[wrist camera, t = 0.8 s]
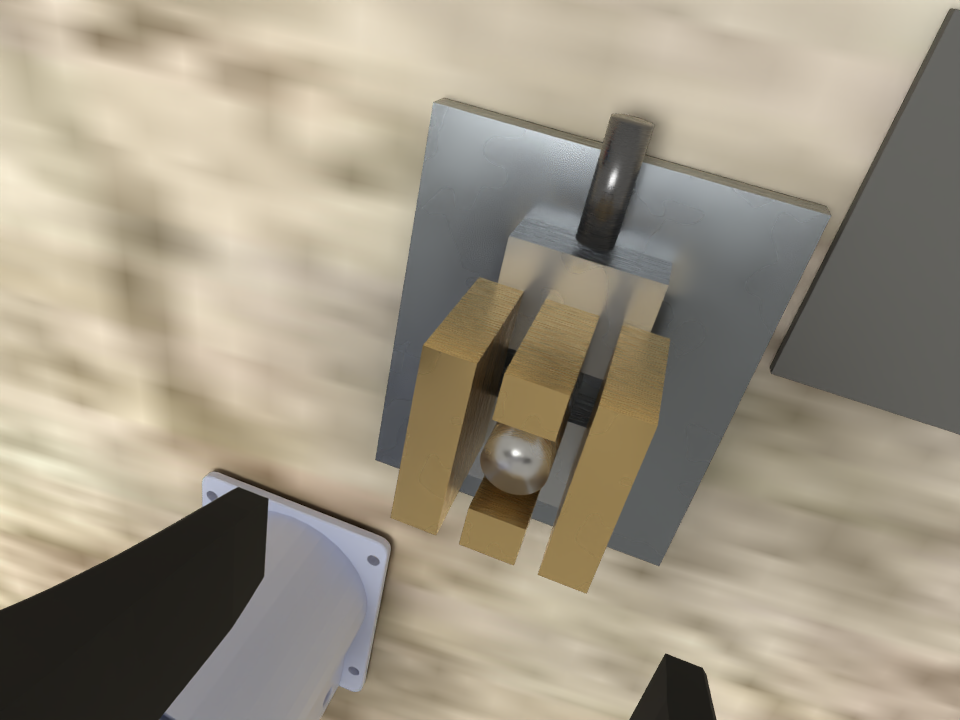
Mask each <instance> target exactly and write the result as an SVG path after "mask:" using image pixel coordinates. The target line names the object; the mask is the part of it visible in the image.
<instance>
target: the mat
mask: <svg viewBox="0 0 960 720" xmlns="http://www.w3.org/2000/svg"><path fill="white" fill-rule="evenodd" d="M770 369H771V374H774V375H777V376H780V377H783V378H786V379H789V380H793V381H796V382H799V383H802V384H805V385H808V386H811V387H814V388H817V389H820V390H823V391H827V392H830V393H833V394H836V395H839V396H842V397H845V398H848V399H851V400H854V401H857V402H861V403H864V404H867V405H870V406H873V407H876V408H879V409H882V410H885V411H888V412H891V413H895V414H898V415H901V416H904V417H907V418H910V419H913V420H916V421H919V422H922V423H925V424H929V425H932V426H935V427H938V428H941V429H944V430H947V431H950V432H953V433H956V434H959V435H960V10H957V9H950V10H949V12H948V14H947V16H946V18H945V20H944V22H943V24H942V26H941V28H940V30H939V32H938V34H937V36H936V38H935V40H934V42H933V44H932V46H931V48H930V50H929V52H928V54H927V56H926V58H925V60H924V62H923V64H922V66H921V68H920V70H919V72H918V74H917V76H916V78H915V80H914V82H913V84H912V86H911V88H910V90H909V92H908V93H907V95H906V97H905V99H904V101H903V103H902V105H901V107H900V109H899V111H898V113H897V115H896V117H895V119H894V121H893V123H892V125H891V127H890V129H889V131H888V133H887V135H886V137H885V139H884V141H883V143H882V145H881V147H880V149H879V151H878V153H877V155H876V157H875V159H874V161H873V163H872V165H871V167H870V169H869V171H868V173H867V175H866V177H865V179H864V181H863V183H862V185H861V187H860V189H859V191H858V193H857V195H856V197H855V199H854V201H853V203H852V205H851V207H850V209H849V211H848V213H847V215H846V217H845V219H844V221H843V223H842V225H841V227H840V229H839V231H838V233H837V235H836V237H835V239H834V241H833V243H832V245H831V247H830V249H829V251H828V253H827V255H826V257H825V259H824V261H823V263H822V265H821V267H820V269H819V271H818V273H817V275H816V277H815V279H814V281H813V283H812V285H811V287H810V289H809V291H808V293H807V295H806V297H805V299H804V300H803V302H802V304H801V306H800V308H799V310H798V312H797V314H796V316H795V318H794V320H793V322H792V324H791V326H790V328H789V330H788V332H787V334H786V336H785V338H784V340H783V342H782V344H781V346H780V348H779V350H778V352H777V354H776V356H775V358H774V360H773V362H772V364H771V366H770Z"/></svg>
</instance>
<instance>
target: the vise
mask: <svg viewBox="0 0 960 720" xmlns="http://www.w3.org/2000/svg"><path fill="white" fill-rule="evenodd" d="M653 128H654V125H653V124H652V123H650V122H648V121H646V120H643V119H640V118H637V117H634V116H630V115H625V114H611V117H610V121H609V124H608V128H607V131H606V134H605V138H604V141H603V143H601V142H598V141H594V140H591V139H587V138H584V137H580V136H577V135H573V134H570V133H566V132H562V131H559V130H555V129H552V128H548V127H545V126H541V125H538V124H534V123H531V122H527V121H524V120H520V119H517V118H513V117H510V116H506V115H503V114H499V113H496V112H492V111H488V110H485V109H481V108H478V107H474V106H471V105H467V104H464V103H460V102H457V101H453V100H450V99H446V98H442V99H440V100H438V101H435V102H433V108H432V114H431V120H430V126H429V132H428V138H427V145H426V151H425V157H424V163H423V169H422V175H421V182H420V188H419V194H418V200H417V206H416V212H415V218H414V225H413V231H412V237H411V243H410V249H409V255H408V262H407V268H406V274H405V280H404V286H403V292H402V299H401V305H400V311H399V317H398V323H397V329H396V336H395V342H394V348H393V354H392V360H391V366H390V373H389V379H388V385H387V391H386V397H385V403H384V410H383V416H382V422H381V428H380V434H379V440H378V447H377V453H376V459H375V460H377V461H380V462H383V463H385V464H388V465H391V466H393V467H396V468H399V469H400V464H401V459H402V454H403V448H404V443H405V438H406V432H407V427H408V422H409V416H410V411H411V406H412V400H413V395H414V390H415V384H416V379H417V374H418V368H419V363H420V358H421V352H422V347H423V345H424V343H425V342H426V341H427V340H428V338H429V337H430V336H431V335H432V334H433V332H434V331H435V330H436V329H437V328H438V326H439V325H440V324H441V323H442V322H443V320H444V319H445V318H446V317H447V316H448V314H449V313H450V312H451V311H452V309H453V308H454V307H455V306H456V305H457V303H458V302H459V301H460V300H461V299H462V297H463V296H464V295H465V294H466V293H467V291H468V290H469V289H470V288H471V287H472V285H473V284H474V283H475V282H476V281H477V279H478V278H479V277H481V278H484V279H487V280H490V281H493V282H496V283H499V284H502V285H505V286H508V287H512V288H515V289H518V290H521V291H524V292H523V296H522V300H521V304H520V307H519V311H518V315H517V319H516V322H515V326H514V330H513V334H512V338H511V341H510V345H509V349H508V353H507V357H506V360H505V364H504V368H503V372H502V376H501V379H500V383H499V387H498V391H497V395H496V398H495V402H494V406H493V410H492V413H491V417H490V421H489V425H488V429H487V432H486V436H485V440H484V444H483V446H482V448H481V449H480V451H479V453H478V455H477V457H476V459H475V461H474V463H473V465H472V467H471V469H470V471H469V473H468V475H467V476H466V478H465V480H464V482H463V484H462V486H461V488H460V490H459V491H460V492H463V493H465V494H468V495H471V496H473V497H474V496H475V494H476V492H477V490H478V488H479V486H480V484H481V482H482V480H483V477H484V475H485V476H486V478H487V479H488V480H489V481H490V482H491V483H492V484H493V485H494V486H495V487H497V488H498V489H500V490H502V491H504V492H507V493H510V494H514V495H528V494H532V493H534V492H536V491H538V490H540V489H541V491H540V494H539V497H538V500H537V502H536V505H535V508H534V511H533V514H532V516H531V518H532V519H535V520H537V521H540V522H543V523H545V524H548V525H551V526H553V525H554V521H555V518H556V515H557V512H558V509H559V505H560V502H561V499H562V496H563V493H564V489H565V486H566V483H567V480H568V477H569V474H570V471H571V468H572V465H573V462H574V460H575V457H576V454H577V451H578V448H579V446H580V443H581V440H582V437H583V434H584V431H585V429H586V426H587V423H588V420H589V417H590V415H591V412H592V409H593V406H594V403H595V401H596V398H597V395H598V392H599V389H600V387H601V384H602V381H603V378H604V375H605V373H606V370H607V367H608V364H609V361H610V359H611V356H612V353H613V350H614V347H615V345H616V342H617V339H618V336H619V333H620V331H621V328H622V325H623V324H626V325H629V326H632V327H635V328H639V329H642V330H645V331H648V332H651V333H654V334H657V335H660V336H663V337H666V338H669V339H670V345H669V352H668V359H667V366H666V372H665V379H664V386H663V393H662V400H661V406H660V413H659V420H658V426H657V429H656V431H655V433H654V436H653V438H652V440H651V443H650V445H649V448H648V450H647V452H646V455H645V457H644V459H643V462H642V464H641V466H640V469H639V471H638V473H637V476H636V478H635V481H634V483H633V485H632V488H631V490H630V492H629V495H628V497H627V499H626V502H625V504H624V506H623V509H622V511H621V514H620V516H619V518H618V521H617V523H616V525H615V528H614V530H613V532H612V535H611V537H610V539H609V542H608V544H607V547H609V548H612V549H615V550H617V551H620V552H623V553H625V554H628V555H631V556H633V557H636V558H639V559H642V560H644V561H647V562H650V563H652V564H655V565H658V566H660V563H661V561H662V559H663V557H664V555H665V553H666V551H667V549H668V547H669V545H670V543H671V541H672V539H673V537H674V535H675V533H676V531H677V529H678V527H679V525H680V523H681V521H682V519H683V517H684V515H685V513H686V510H687V508H688V506H689V504H690V502H691V500H692V498H693V496H694V494H695V492H696V490H697V488H698V486H699V484H700V482H701V480H702V478H703V476H704V474H705V472H706V470H707V468H708V466H709V464H710V462H711V460H712V457H713V455H714V453H715V451H716V449H717V447H718V445H719V443H720V441H721V439H722V437H723V435H724V433H725V431H726V429H727V427H728V425H729V423H730V421H731V419H732V417H733V415H734V413H735V411H736V409H737V407H738V404H739V402H740V400H741V398H742V396H743V394H744V392H745V390H746V388H747V386H748V384H749V382H750V380H751V378H752V376H753V374H754V372H755V370H756V368H757V366H758V364H759V362H760V360H761V358H762V356H763V354H764V352H765V349H766V347H767V345H768V343H769V341H770V339H771V337H772V335H773V333H774V331H775V329H776V327H777V325H778V323H779V321H780V319H781V317H782V315H783V313H784V311H785V309H786V307H787V305H788V303H789V301H790V299H791V296H792V294H793V292H794V290H795V288H796V286H797V284H798V282H799V280H800V278H801V276H802V274H803V272H804V270H805V268H806V266H807V264H808V262H809V260H810V258H811V256H812V254H813V252H814V250H815V248H816V246H817V243H818V241H819V239H820V237H821V235H822V233H823V231H824V229H825V227H826V225H827V223H828V221H829V219H830V217H831V214H830V212H829V210H828V208H827V206H823V205H820V204H816V203H813V202H809V201H806V200H802V199H799V198H795V197H792V196H788V195H785V194H781V193H778V192H774V191H771V190H767V189H763V188H760V187H756V186H753V185H749V184H746V183H742V182H739V181H735V180H732V179H728V178H725V177H721V176H718V175H714V174H711V173H707V172H704V171H700V170H696V169H693V168H689V167H686V166H682V165H679V164H675V163H672V162H668V161H665V160H661V159H658V158H654V157H651V156H647V155H645V153H646V150H647V147H648V144H649V141H650V138H651V134H652V131H653ZM546 299H549V300H552V301H555V302H558V303H561V304H564V305H567V306H570V307H574V308H577V309H580V310H583V311H586V312H589V313H592V314H595V315H598V316H600V317H599V320H598V323H597V326H596V329H595V332H594V335H593V338H592V340H591V343H590V346H589V349H588V352H587V355H586V358H585V361H584V364H583V366H582V369H581V372H580V375H579V377H578V380H577V383H576V386H575V388H574V391H573V394H572V397H571V399H570V402H569V405H568V407H567V410H566V413H565V416H564V418H563V421H562V424H561V427H560V429H559V432H558V435H557V438H556V440H555V442H553V441H550V440H548V439H545V438H542V437H539V436H536V435H533V434H531V433H528V432H525V431H522V430H519V429H517V428H514V427H511V426H508V425H505V424H502V423H500V422H497V421H494V420H492V418H493V415H494V411H495V407H496V403H497V400H498V396H499V392H500V388H501V385H502V381H503V377H504V373H505V372H506V370H507V368H508V366H509V364H510V363H511V361H512V359H513V357H514V355H515V354H516V352H517V350H518V348H519V346H520V345H521V343H522V341H523V339H524V338H525V336H526V334H527V332H528V330H529V329H530V327H531V325H532V323H533V321H534V320H535V318H536V316H537V314H538V313H539V311H540V309H541V307H542V305H543V304H544V302H545V300H546Z"/></svg>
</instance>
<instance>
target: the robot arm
mask: <svg viewBox="0 0 960 720" xmlns="http://www.w3.org/2000/svg"><path fill="white" fill-rule="evenodd" d="M390 552H391V546H390V544H389V542H388V541H387V540H386V539H385V538H383V537H381V536H379V535H377V534H374V533H372V532H369V531H366V530H364V529H361V528H359V527H356V526H354V525H351V524H349V523H346V522H343V521H341V520H338V519H336V518H333V517H331V516H328V515H326V514H323V513H321V512H318V511H315V510H313V509H310V508H308V507H305V506H303V505H300V504H298V503H295V502H292V501H290V500H287V499H285V498H282V497H280V496H277V495H275V494H272V493H270V492H267V491H264V490H262V489H259V488H257V487H254V486H252V485H249V484H247V483H244V482H241V481H239V480H236V479H234V478H231V477H229V476H226V475H224V474H221V473H218V472H214V471H213V472H210V473H208V474H207V475H206V476H205V477H204V478H203V481H202V508H200V509H198V510H197V511H195V512H193V513H191V514H190V515H188V516H186V517H185V518H183V519H181V520H179V521H178V522H176V523H174V524H172V525H171V526H169V527H167V528H165V529H164V530H162V531H160V532H158V533H156V534H155V535H153V536H151V537H149V538H147V539H145V540H144V541H142V542H140V543H138V544H136V545H134V546H133V547H131V548H129V549H127V550H125V551H124V552H122V553H120V554H118V555H116V556H114V557H112V558H110V559H108V560H107V561H105V562H102V563H100V564H98V565H96V566H94V567H92V568H90V569H88V570H86V571H84V572H82V573H80V574H78V575H76V576H74V577H72V578H70V579H68V580H66V581H64V582H62V583H60V584H58V585H56V586H54V587H52V588H50V589H47V590H45V591H43V592H41V593H39V594H36V595H34V596H32V597H30V598H28V599H25V600H23V601H21V602H18V603H16V604H14V605H11V606H9V607H7V608H4V609H2V610H0V720H320V719H321V717H322V715H323V713H324V711H325V710H326V708H327V706H328V704H329V702H330V701H331V699H332V697H333V695H334V693H335V691H336V690H337V688H338V686H341V687H343V688H345V689H348V690H350V691H353V692H358V691H360V690H361V689H362V687H363V685H364V683H365V680H366V675H367V670H368V665H369V660H370V654H371V649H372V644H373V639H374V634H375V629H376V624H377V618H378V613H379V608H380V603H381V598H382V593H383V588H384V582H385V577H386V572H387V567H388V562H389V557H390ZM374 556H375V557H374ZM376 557H377V558H376ZM630 720H716V716H715V711H714V707H713V703H712V698H711V694H710V689H709V685H708V680H707V675H706V673H705V671H704V670H703V668H701V667H699V666H696V665H694V664H691V663H689V662H686V661H683V660H681V659H678V658H676V657H673V656H671V655H668V654H665V655H664V657H663V659H662V661H661V662H660V664H659V666H658V668H657V670H656V672H655V674H654V675H653V677H652V679H651V681H650V683H649V685H648V686H647V688H646V690H645V692H644V694H643V696H642V698H641V699H640V701H639V703H638V705H637V707H636V709H635V710H634V712H633V714H632V716H631V718H630Z"/></svg>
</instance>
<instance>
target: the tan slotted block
mask: <svg viewBox="0 0 960 720" xmlns="http://www.w3.org/2000/svg"><path fill="white" fill-rule="evenodd" d="M523 292H524V291H521V290H518V289H515V288H512V287H508V286H505V285H502V284H499V283H496V282H493V281H490V280H487V279H484V278H481V277H479V278H478V279H477V281H476V282H475V283H474V284H473V285H472V287H471V288H470V289H469V290H468V291H467V293H466V294H465V295H464V296H463V297H462V299H461V300H460V301H459V302H458V303H457V305H456V306H455V307H454V308H453V309H452V311H451V312H450V313H449V314H448V316H447V317H446V318H445V319H444V320H443V322H442V323H441V324H440V325H439V326H438V328H437V329H436V330H435V331H434V332H433V334H432V335H431V336H430V337H429V338H428V340H427V341H426V342H425V343H424V345H423V347H422V352H421V358H420V363H419V368H418V374H417V379H416V384H415V390H414V395H413V400H412V406H411V411H410V416H409V422H408V427H407V432H406V438H405V443H404V448H403V454H402V459H401V464H400V470H399V475H398V480H397V486H396V491H395V496H394V502H393V507H392V512H391V518H392V519H395V520H398V521H400V522H403V523H405V524H408V525H411V526H413V527H416V528H418V529H421V530H423V531H426V532H429V533H431V534H434V535H436V534H437V532H438V530H439V528H440V527H441V525H442V523H443V521H444V519H445V517H446V515H447V513H448V511H449V509H450V507H451V505H452V503H453V501H454V500H455V498H456V496H457V494H458V492H459V490H460V488H461V486H462V484H463V482H464V480H465V478H466V476H467V475H468V473H469V471H470V469H471V467H472V465H473V463H474V461H475V459H476V457H477V455H478V453H479V451H480V449H481V448H482V446H483V444H484V440H485V436H486V432H487V429H488V425H489V421H490V417H491V413H492V410H493V406H494V402H495V398H496V395H497V391H498V387H499V383H500V379H501V376H502V372H503V368H504V364H505V360H506V357H507V353H508V349H509V345H510V341H511V338H512V334H513V330H514V326H515V322H516V319H517V315H518V311H519V307H520V304H521V300H522V296H523ZM599 317H600V316H598V315H595V314H592V313H589V312H586V311H583V310H580V309H577V308H574V307H570V306H567V305H564V304H561V303H558V302H555V301H552V300H549V299H546V300H545V302H544V304H543V305H542V307H541V309H540V311H539V313H538V314H537V316H536V318H535V320H534V321H533V323H532V325H531V327H530V329H529V330H528V332H527V334H526V336H525V338H524V339H523V341H522V343H521V345H520V346H519V348H518V350H517V352H516V354H515V355H514V357H513V359H512V361H511V363H510V364H509V366H508V368H507V370H506V372H505V373H504V377H503V381H502V385H501V388H500V392H499V396H498V400H497V403H496V407H495V411H494V415H493V418H492V420H494V421H497V422H500V423H502V424H505V425H508V426H511V427H514V428H517V429H519V430H522V431H525V432H528V433H531V434H533V435H536V436H539V437H542V438H545V439H548V440H550V441H553V442H555V440H556V438H557V435H558V432H559V429H560V427H561V424H562V421H563V418H564V416H565V413H566V410H567V407H568V405H569V402H570V399H571V397H572V394H573V391H574V388H575V386H576V383H577V380H578V377H579V375H580V372H581V369H582V366H583V364H584V361H585V358H586V355H587V352H588V349H589V346H590V343H591V340H592V338H593V335H594V332H595V329H596V326H597V323H598V320H599ZM669 345H670V339H669V338H666V337H663V336H660V335H657V334H654V333H651V332H648V331H645V330H642V329H639V328H635V327H632V326H629V325H626V324H623V325H622V328H621V331H620V333H619V336H618V339H617V342H616V345H615V347H614V350H613V353H612V356H611V359H610V361H609V364H608V367H607V370H606V373H605V375H604V378H603V381H602V384H601V387H600V389H599V392H598V395H597V398H596V401H595V403H594V406H593V409H592V412H591V415H590V417H589V420H588V423H587V426H586V429H585V431H584V434H583V437H582V440H581V443H580V446H579V448H578V451H577V454H576V457H575V460H574V462H573V465H572V468H571V471H570V474H569V477H568V480H567V483H566V486H565V489H564V493H563V496H562V499H561V502H560V505H559V509H558V512H557V515H556V518H555V521H554V525H553V528H552V531H551V534H550V537H549V541H548V544H547V547H546V550H545V553H544V557H543V560H542V563H541V566H540V569H539V573H538V575H540V576H542V577H545V578H548V579H550V580H553V581H555V582H558V583H560V584H563V585H566V586H568V587H571V588H573V589H576V590H579V591H581V592H584V593H586V594H587V591H588V589H589V587H590V584H591V582H592V580H593V577H594V575H595V572H596V570H597V568H598V565H599V563H600V561H601V558H602V556H603V554H604V551H605V549H606V547H607V544H608V542H609V539H610V537H611V535H612V532H613V530H614V528H615V525H616V523H617V521H618V518H619V516H620V514H621V511H622V509H623V506H624V504H625V502H626V499H627V497H628V495H629V492H630V490H631V488H632V485H633V483H634V481H635V478H636V476H637V473H638V471H639V469H640V466H641V464H642V462H643V459H644V457H645V455H646V452H647V450H648V448H649V445H650V443H651V440H652V438H653V436H654V433H655V431H656V429H657V426H658V420H659V413H660V406H661V400H662V393H663V386H664V379H665V372H666V366H667V359H668V352H669ZM540 491H541V489H540V490H538V491H536V492H534V493H532V494H528V495H514V494H510V493H507V492H504V491H502V490H500V489H498V488H497V487H495V486H494V485H493V484H492V483H491V482H490V481H489V480H488V479H487V478H486V476H485V475H484V477H483V480H482V482H481V484H480V486H479V488H478V490H477V492H476V494H475V496H474V498H473V500H472V502H471V504H470V506H469V509H468V512H467V516H466V520H465V524H464V527H463V531H462V535H461V539H460V542H459V544H460V545H462V546H465V547H467V548H470V549H473V550H475V551H478V552H480V553H483V554H485V555H488V556H491V557H493V558H496V559H498V560H501V561H504V562H506V563H509V564H511V565H514V564H515V561H516V558H517V555H518V553H519V550H520V547H521V544H522V541H523V539H524V536H525V533H526V530H527V528H528V525H529V522H530V519H531V516H532V514H533V511H534V508H535V505H536V502H537V500H538V497H539V494H540Z"/></svg>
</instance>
